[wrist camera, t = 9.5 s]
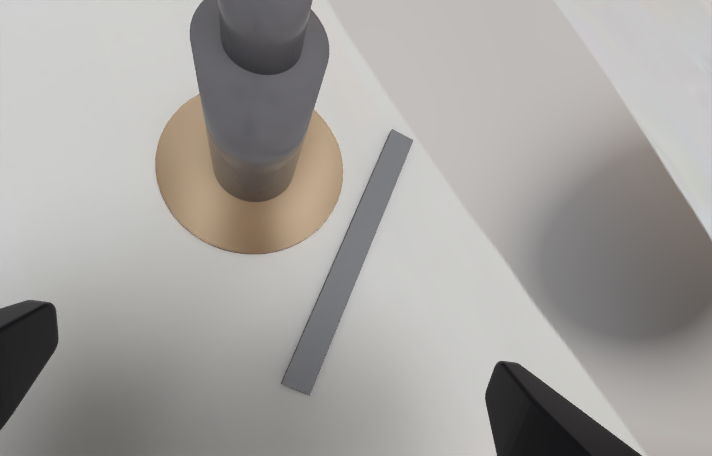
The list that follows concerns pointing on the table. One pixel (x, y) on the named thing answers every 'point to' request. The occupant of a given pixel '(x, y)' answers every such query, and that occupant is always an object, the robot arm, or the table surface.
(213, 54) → the grey stepped cylinder
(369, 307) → the table surface
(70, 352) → the table surface
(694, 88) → the table surface
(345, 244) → the felt line
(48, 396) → the table surface
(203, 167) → the cork coaster
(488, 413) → the robot arm
